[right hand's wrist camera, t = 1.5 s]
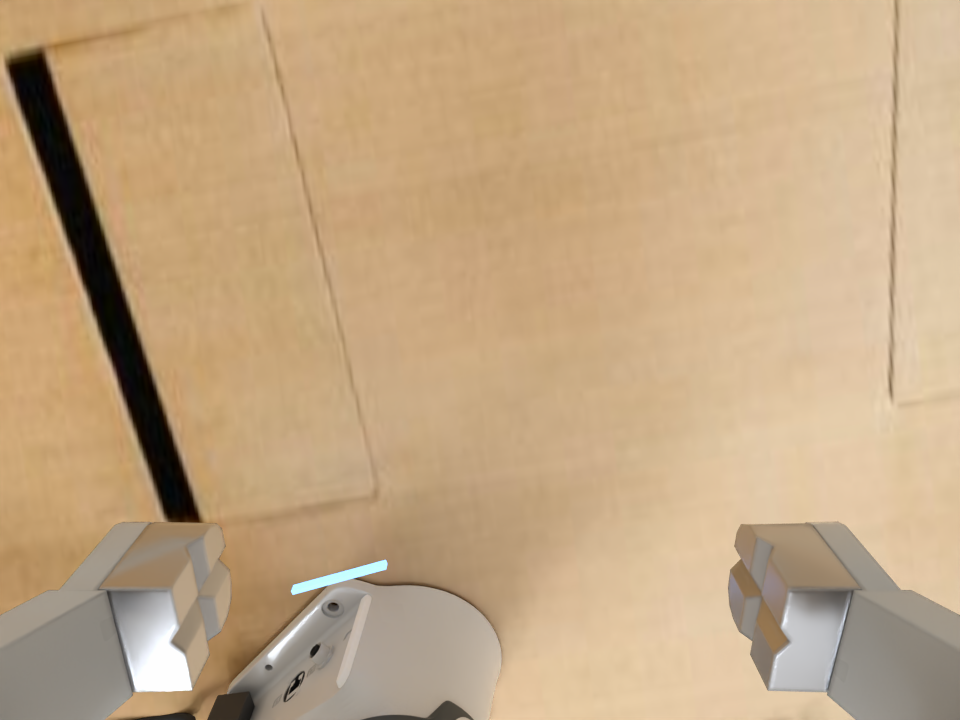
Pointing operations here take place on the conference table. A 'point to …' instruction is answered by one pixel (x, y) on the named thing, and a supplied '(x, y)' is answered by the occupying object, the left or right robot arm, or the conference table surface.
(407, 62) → the conference table surface
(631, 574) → the conference table surface
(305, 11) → the conference table surface
